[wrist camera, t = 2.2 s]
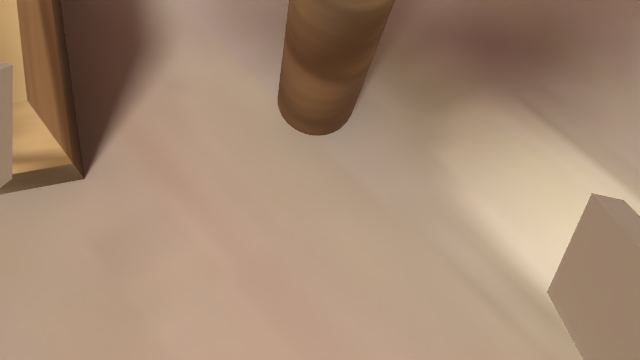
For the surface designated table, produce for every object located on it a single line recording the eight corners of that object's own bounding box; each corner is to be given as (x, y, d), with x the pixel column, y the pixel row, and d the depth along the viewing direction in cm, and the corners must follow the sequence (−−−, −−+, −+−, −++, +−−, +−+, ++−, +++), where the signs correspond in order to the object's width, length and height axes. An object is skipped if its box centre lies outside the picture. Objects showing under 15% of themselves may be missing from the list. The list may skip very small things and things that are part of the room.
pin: (342, 62, 32) (394, -116, 21) (361, 127, 31) (428, -24, 20) (270, 73, 31) (285, -105, 20) (287, 141, 30) (313, -9, 19)
